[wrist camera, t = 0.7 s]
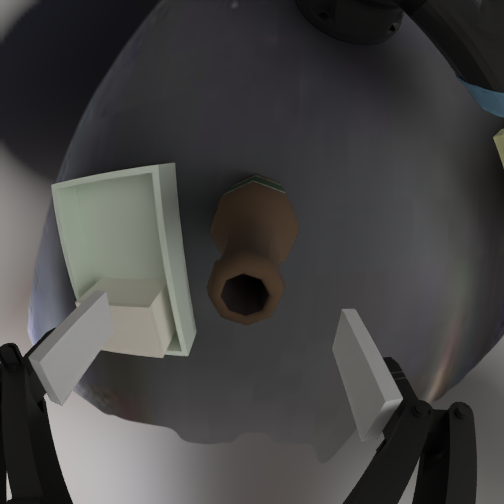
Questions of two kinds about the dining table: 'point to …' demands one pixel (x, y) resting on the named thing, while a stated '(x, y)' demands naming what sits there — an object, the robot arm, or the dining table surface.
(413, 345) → the dining table surface
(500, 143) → the slatted curved stool
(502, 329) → the dining table surface
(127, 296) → the off-white rectangular block
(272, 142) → the dining table surface
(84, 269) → the tote
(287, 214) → the beer bottle
